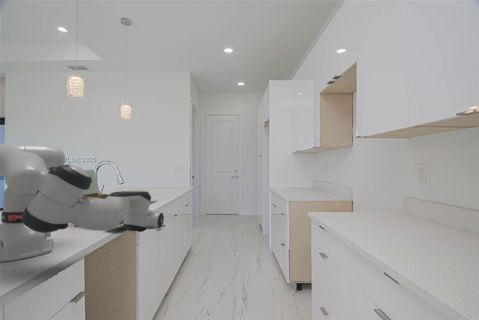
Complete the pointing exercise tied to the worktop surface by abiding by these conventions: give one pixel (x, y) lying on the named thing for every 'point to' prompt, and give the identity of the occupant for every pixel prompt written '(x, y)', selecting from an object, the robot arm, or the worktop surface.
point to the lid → (92, 184)
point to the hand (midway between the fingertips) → (111, 216)
